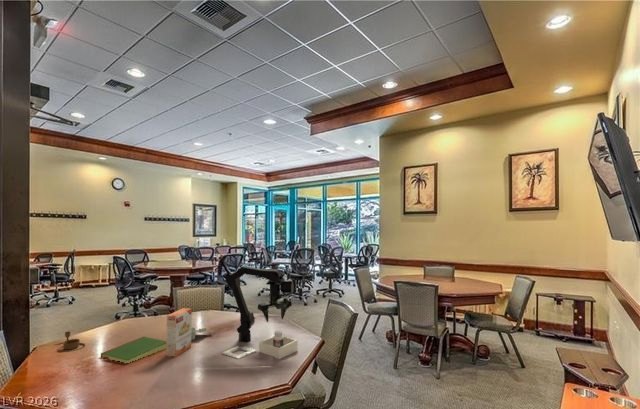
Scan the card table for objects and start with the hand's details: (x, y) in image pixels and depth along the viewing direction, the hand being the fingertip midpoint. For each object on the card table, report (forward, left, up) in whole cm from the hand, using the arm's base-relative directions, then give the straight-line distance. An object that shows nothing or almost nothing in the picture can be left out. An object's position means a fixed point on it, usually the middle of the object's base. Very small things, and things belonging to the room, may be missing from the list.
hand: (274, 320), depth 191 cm
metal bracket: (-38, -16, -11) cm, 42 cm away
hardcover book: (-47, -53, -13) cm, 72 cm away
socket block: (-3, -23, -12) cm, 26 cm away
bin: (+11, -9, -12) cm, 19 cm away
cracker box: (-31, -39, -12) cm, 51 cm away
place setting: (-84, -68, -13) cm, 109 cm away
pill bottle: (+11, -9, -12) cm, 18 cm away
